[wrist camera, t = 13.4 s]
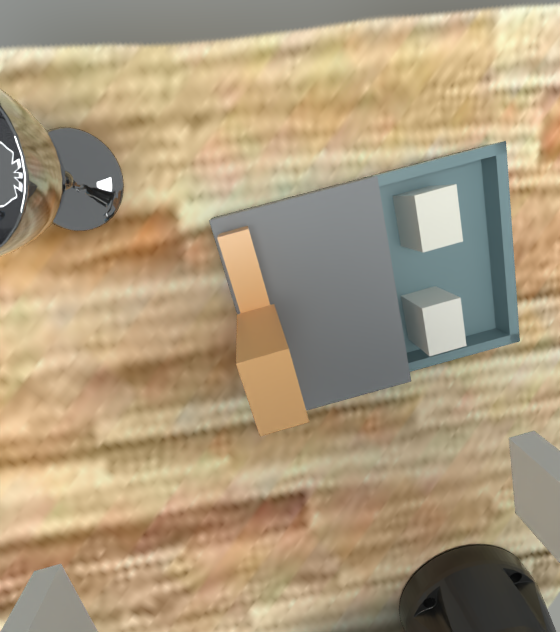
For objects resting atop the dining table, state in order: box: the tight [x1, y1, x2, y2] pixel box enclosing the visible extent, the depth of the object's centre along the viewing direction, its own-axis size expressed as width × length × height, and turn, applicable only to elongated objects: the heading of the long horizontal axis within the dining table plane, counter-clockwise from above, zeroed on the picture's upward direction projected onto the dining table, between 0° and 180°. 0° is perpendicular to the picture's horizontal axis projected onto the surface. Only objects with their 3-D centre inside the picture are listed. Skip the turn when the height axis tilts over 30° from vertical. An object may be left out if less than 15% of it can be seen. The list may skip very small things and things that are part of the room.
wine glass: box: [0, 89, 124, 257], centre depth 22 cm, size 8×8×15 cm
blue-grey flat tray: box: [365, 141, 520, 372], centre depth 32 cm, size 16×10×2 cm, turn 14°
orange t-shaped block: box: [217, 226, 309, 436], centre depth 24 cm, size 14×2×11 cm, turn 15°
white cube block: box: [401, 286, 467, 356], centre depth 32 cm, size 4×4×3 cm
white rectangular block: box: [393, 184, 463, 252], centre depth 30 cm, size 4×4×3 cm
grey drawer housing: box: [209, 176, 411, 410], centre depth 31 cm, size 16×12×4 cm
